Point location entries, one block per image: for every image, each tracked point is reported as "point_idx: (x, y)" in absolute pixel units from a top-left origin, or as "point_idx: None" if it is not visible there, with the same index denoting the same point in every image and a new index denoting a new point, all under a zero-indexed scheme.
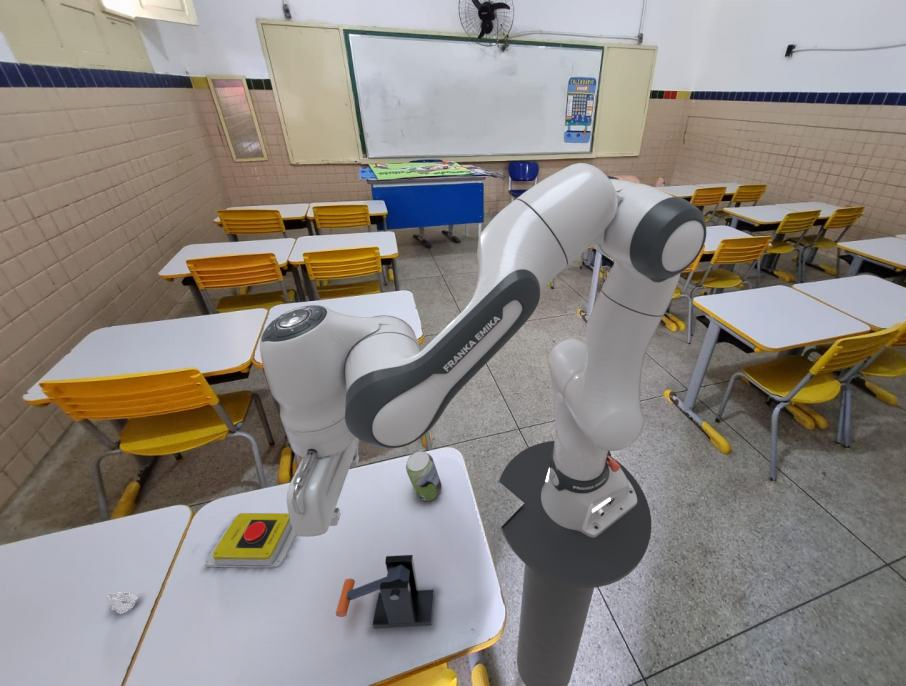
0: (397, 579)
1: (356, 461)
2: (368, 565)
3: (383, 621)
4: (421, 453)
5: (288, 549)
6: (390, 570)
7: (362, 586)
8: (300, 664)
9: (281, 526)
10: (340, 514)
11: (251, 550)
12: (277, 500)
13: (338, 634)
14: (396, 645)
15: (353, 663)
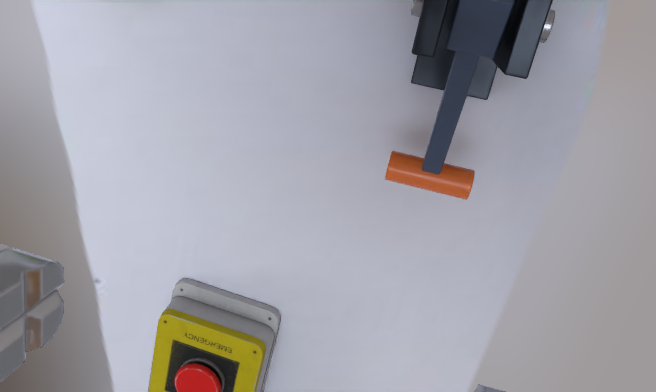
0: (511, 10)
1: (10, 272)
2: (325, 111)
3: (489, 70)
4: None
5: (244, 300)
6: (455, 39)
7: (435, 132)
8: (501, 254)
9: (191, 329)
10: (484, 386)
11: (240, 382)
12: (116, 332)
13: None
14: None
15: (545, 143)
